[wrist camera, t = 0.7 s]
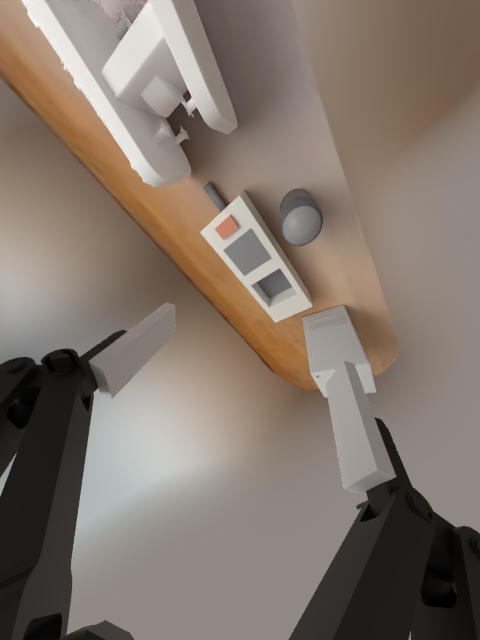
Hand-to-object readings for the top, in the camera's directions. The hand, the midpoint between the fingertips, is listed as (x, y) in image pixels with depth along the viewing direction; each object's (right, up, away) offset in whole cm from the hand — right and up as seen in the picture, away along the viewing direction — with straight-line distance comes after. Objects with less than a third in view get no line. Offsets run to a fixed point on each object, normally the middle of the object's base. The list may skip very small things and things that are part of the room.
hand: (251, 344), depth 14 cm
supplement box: (+19, +1, +28) cm, 34 cm away
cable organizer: (-8, +30, +8) cm, 32 cm away
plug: (+8, +19, +14) cm, 25 cm away
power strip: (+2, +14, +20) cm, 24 cm away
